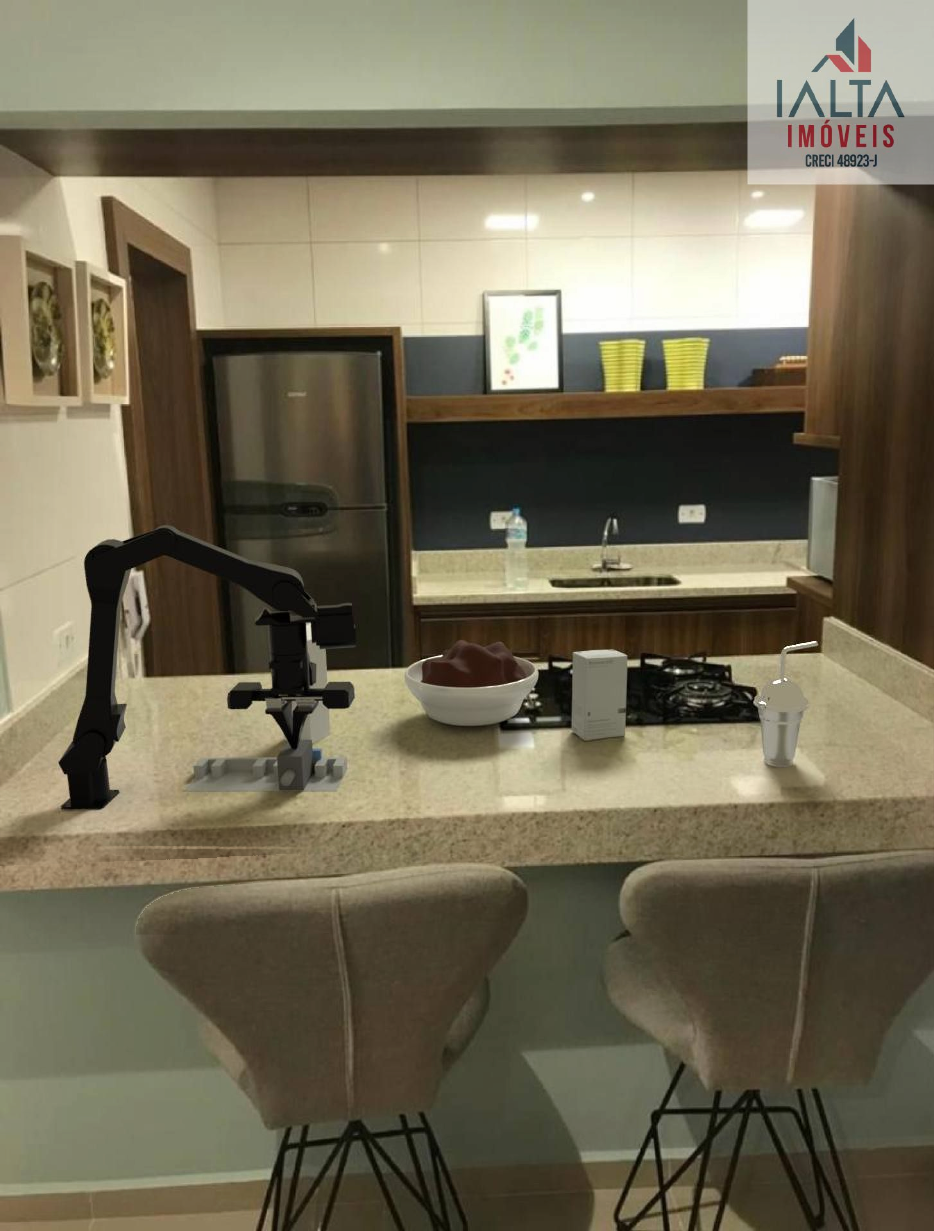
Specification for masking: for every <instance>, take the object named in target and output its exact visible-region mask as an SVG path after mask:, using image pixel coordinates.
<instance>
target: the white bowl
mask: <svg viewBox="0 0 934 1231" xmlns="http://www.w3.org/2000/svg"><path fill="white" fill-rule="evenodd" d="M403 678H404V684H405V685H406V687H407V689H408V690H409V691H410V693H411V694H412V695H413V696H414V697H415V699H417V700H418V701H419V703H420V705H421V707H422V709H423V711H424V712H425V714H426V715H427V716H428V718H431V719H433V720H434V721H437V722H439V723H442V724H444V725H445V724H446V725H451V726H461V727H478V726H480V727H481V726H488V725H494V724H498V723H501V722H504V721H507V720H508V719H510V718H512V717H514V716H515V715H516V714H518V713H519V711H520V708H521V707H522V705H523V702H524V700H525V698H526V697H527V696H528V695H529V694H530V693H531V692H532V690H533V689H534V687H535V686H536V684H537V683H538V679H539V670H538V668H537V666H536V665H535V664H534V663H532V662H531V661H529V660H527V659H525V658H520V657H517V656H514V655H513V654H512V652H511V651H510V650H509V648H508V647H506V646H505V643H504V642H502V641H496V642H494V643H491V644H489V645H487V646H481V645H480V644H476V643H471V642H470V643H469V642H467V641H466V640H465V639H463V640H462V639H459V640H457V641H456V642H455V643H454V644H453V645H452V646H451V648H450V649H445V650H444V651H443V652H442V653H441V655H437V656H432V657H428V658H425V659H422V660H419V661H416V662H414V663H412V664H411V665H409V666H408V667H407V668H406V669H405V672H404V676H403Z"/></svg>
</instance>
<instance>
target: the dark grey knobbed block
mask: <svg viewBox="0 0 934 1231" xmlns="http://www.w3.org/2000/svg"><path fill="white" fill-rule="evenodd" d="M276 757H277V764H278V779H279V790H304V789H305V787H306V785H307V784H308V782H309V780H310V778H311V776H312V775H313V773H314V765H313V744H312V740H300V742H299V746H298V748H297V749H292V748H291V746H290V744H289V743H288V741H286V743H285V744H284V746H283V747H282V748H281V750H280V752H279V753H278V754H277V756H276Z"/></svg>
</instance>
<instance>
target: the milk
mask: <svg viewBox="0 0 934 1231" xmlns="http://www.w3.org/2000/svg"><path fill="white" fill-rule="evenodd" d="M306 631H307V647H308V653H309V658H310V662H313V663H315V664H316V683H314V684H313V686H310V689H315V688H325V687H326V685H327V684H328V672H327V671H328V670H327V653H326V651H327V649H319V646H316V642H315V643H312V638H311V623H306ZM296 706H297V704H296V701H292V717H293V710H294V709H295V708H296ZM330 722H331V721H330V709H328V708H326V707H325V706H324V705H323V701H319V703H318V705H317V707H316V708H315V710H314V711H313V713H312V714H308V716H307V718H306V721H305V724H304V727H303V731H302V735H301V738H300V740H312V745H314V744H315V743H317V742H319V741H320V740H323V739H325V737H328V736H330V735H331V726H330V725H331V724H330ZM283 741H286V742H287V739H286V737H285V735H284V734H283Z"/></svg>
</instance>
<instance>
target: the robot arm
mask: <svg viewBox="0 0 934 1231" xmlns="http://www.w3.org/2000/svg"><path fill="white" fill-rule="evenodd" d="M163 556H166V557H169V558H172V559H174V560H177V561H179V562H182V563H184V564H187V565H189V566H191V567H194V568H197V569H198V570H201V571H203V572H206V573H208V574H211V575H214V576H216V577H218V578H221V579H223V580H226V581H228V582H230V583H233V584H236V585H238V586H240V587H242V588H243V589H244V590H246V591H248V592H249V593H250V594H252V595H253V596H254V597H255V598H257V599H258V600H260V601H262V602H263V603H265V604H266V605H267V606H269V607H271V608H272V609H274V610H277V611H271V610H270V609H269V608H268V607H267V606H263V609H262V610H261V612H260V614H258V615H257V616H255V618H254V619H255V620H254V625H255V626H256V627H260V626H261V627H263V626H267V631H268V647H269V657H270V658H269V660H270V661H269V662H268V668H269V670H270V675H271V676H270V677H271V688H263V686H262V684H261V682H260V681H254V682H253V681H250V682H249V681H248V682H247V681H242V682H238V683H236V685H235V686H233V688H232V689H231V690H230V691H229V692H227V698H226V703H227V709H229V710H248V708H249V709H250V707H251V705H253V702H265V705H266V708H265V710H264V713H265V715H271V717H272V719H274V721H275V722H276V724H277V725H278V726H279V728H280V730H281V731H282V733H283V736H284V735H285V737H286V739H287V741H288V743H289V744H290V746H291V748H292V749H297V748H298V746H299V742H300V738H301V735H302V731H303V727H304V724H305V721H306V718H307V716H308V714H312V713H313V711H314V710H315V708H316V707H317V705H318V703H319V701H323V705H324V706H325V707H326V708H328V709H329V710H346V709H349V708H350V707H351V705H352V704H353V702H354V700H355V696H356V695H355V686H354V684H353V683H352V682H351V681H327V685H326V687H325V688H315V689H310V686H313V684H314V683H316V664H315V663H313V662H310V658H309V653H308V647H307V631H306V623H311V638H312V643H315V642H316V646H319V649H326V650H330V649H344V648H356V646H357V628H356V624H355V620H354V611H353V610H354V608H353V605H352V603H351V602H344V603H340V604H329V605H328V604H327V605H317V602H316V601H315V600H314V598H313V597H311V595H310V594H309V593H308V592H307V591H306V589H305V587H304V581H303V578H302V576H301V575H300V573H299V572H298V571H296V570H295V569H293V568H290V567H287V566H283V565H279V564H276V563H275V564H274V563H270V562H269V563H268V562H263V561H255V560H251V559H247V558H245V557H243V556H241V555H238V554H237V553H234V552H231V551H229V550H226V549H225V548H222V547H218V546H217V545H214V544H212V543H210V542H207V541H205V540H202V539H200V538H197V537H195V536H193V535H190V534H188V533H186V532H183V531H181V530H178V529H177V528H176V527H174V526H173V525H170V524H164V525H161V526H158V527H157V528H156V529H154V530H151V531H148V532H147V531H146V532H145V533H144V532H143V533H142V534H139V535H136V536H133V537H130V538H127V539H125V540H118V539H116V538H112V539H109V538H108V539H106V540H102V541H101V542H99V543H98V544H96V545H95V546H94V547H93V548H91V549H90V550H88V552H86V555H85V556H84V560H83V568H84V569H83V570H84V575H85V576H84V577H85V583H86V588H87V592H88V597H89V600H90V604H91V608H90V609H91V610H90V623H89V639H88V652H87V667H86V668H87V669H86V680H85V697H84V700H83V703H82V706H81V710H80V712H79V715H78V718H77V721H76V726H75V729H74V733H73V737H72V741H71V742H70V743H69V745H68V747H67V748H66V750H65V751H64V753H63V755H62V756H61V758H60V759H59V760H58V765H59V767H60V769H61V771H62V773H63V775H66V777H67V785H68V793H69V798H68V799H67V800H65V801H64V803H62V804H61V805H60V809H61V810H103V809H104V808H106V806H108V804H109V803H110V804H111V802H112V800H114V799H115V798H116V797H117V796H118V795H119V794H120V793H121V792H120V789H110V788H111V786H110V778H109V769H108V760H107V757H106V756H108V755H109V754H111V752H112V751H113V749H114V746H115V745H116V743H119V741H120V739H121V738H122V735H123V734H124V731H125V729H126V728H127V726H126V723H125V714H126V711H127V706H128V704H127V703H126V702H125V703H118V701H117V696H116V680H117V662H118V650H119V637H120V636H119V635H120V622H121V609H122V608H121V606H122V602H123V598H124V595H125V592H126V589H127V586H128V583H129V580H130V576H131V572H132V569H134V568H137V567H139V566H142V565H143V564H146V563H149V562H150V561H153V560H155V559H157V558H160V557H163ZM291 612H292V613H294V614H296V615H292V614H291ZM292 701H296V704H297V706H296V708H295V709H294V710H293V717H292ZM287 741H286V742H287Z"/></svg>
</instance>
